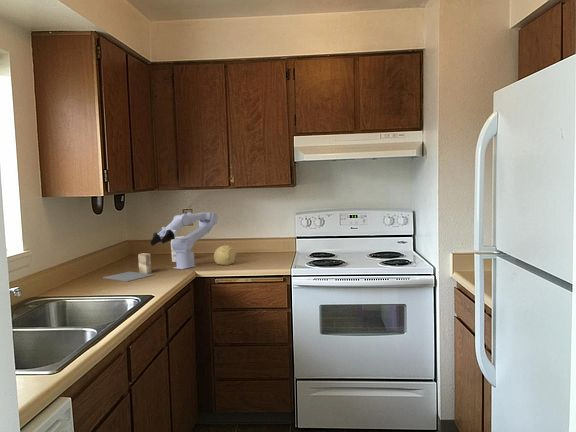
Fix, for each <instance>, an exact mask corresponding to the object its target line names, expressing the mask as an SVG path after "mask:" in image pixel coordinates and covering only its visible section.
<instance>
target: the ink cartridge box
mask: <svg viewBox="0 0 576 432" xmlns="http://www.w3.org/2000/svg"><path fill="white" fill-rule="evenodd" d="M174 237H175V239H179V238H182V237H185V235H181V236H174ZM173 240H174V239H172V240H170V251H171V252H170V253H171V262H172V263H174V262H175V263H176V252H175V251H174V250H173V248H172V242H173Z"/></svg>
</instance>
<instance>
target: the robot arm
mask: <svg viewBox="0 0 576 432" xmlns="http://www.w3.org/2000/svg"><path fill="white" fill-rule="evenodd" d="M218 218H219V217H218V213H216V212H215V211H214V212H212V211H211V212H208V211H207V212H202V211H201V212H197V213H193V212H191V211H188V212H187V213H182V214H176V215H174V217H173V218H172V220H171V221H170V223H169V224H168V225H167V226H162V227H161V230H160V231H159V232H154V233H153V235H152V238H151V240H150V242H149V244H150V245H151V246H155V245H157V244H158V243H161V244H163V245H164V244H166V243H168V242H171V240H172V239H174V240H173V242H172V248H173V250H174V251H175V252H176V262H175V263H176V264H175V265H176V266H173V267H172V268H173V269H176V270H177V269H178V270H179V269H180V270H187V269H189V268H194V267H196V266H197V265H195V263H196V262H195V254H194V252H193V251H192V249H193V247H194V246H195V243H196V242H197V241H199V240H200V239H201V238H203V237H205V236H206V235H207V234H209V233H210V232H211V230H212V228H213V227H214V226H215V225H217V223H218ZM197 220H198V227H197V228H196V229H194V230H193V231H192V232H190V233H189V234H187V235H184V237H182V238H177V239H175V237H176V236H177V235H178V234H179V232H178V231H179V230H181V228H183V227H185V226H188V225H191V224H194V223H195V222H196V221H197Z"/></svg>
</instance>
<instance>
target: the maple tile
mask: <svg viewBox="0 0 576 432" xmlns="http://www.w3.org/2000/svg"><path fill="white" fill-rule="evenodd" d="M137 258H138V273H145V274H152V262H151V253H143V252H142V253H138V255H137Z"/></svg>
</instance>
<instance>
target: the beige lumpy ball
mask: <svg viewBox="0 0 576 432" xmlns="http://www.w3.org/2000/svg"><path fill="white" fill-rule="evenodd" d="M236 256H237V248H235V247H233V246H231V245H227V244H223V245H221V246H219V247H217V248H216V249H215V250H214V254H213V260H214V262H215V263H216V265H222V266H229V265H233V263H235V262H236V261H235V260H236Z"/></svg>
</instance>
